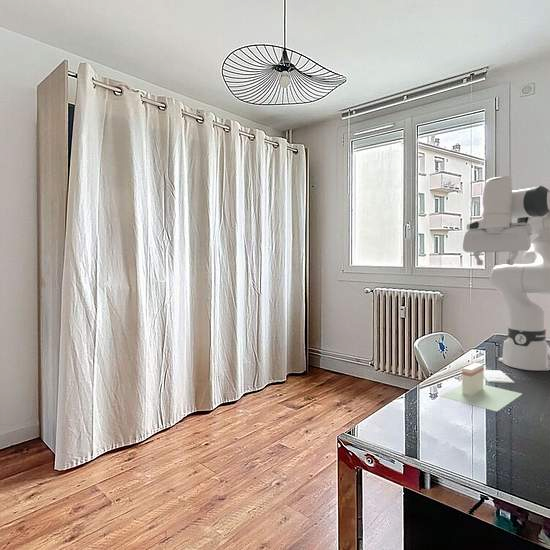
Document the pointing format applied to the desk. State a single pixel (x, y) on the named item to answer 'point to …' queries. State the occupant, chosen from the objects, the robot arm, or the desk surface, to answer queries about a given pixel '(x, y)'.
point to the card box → (472, 379)
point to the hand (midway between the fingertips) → (494, 265)
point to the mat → (484, 397)
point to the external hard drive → (496, 376)
